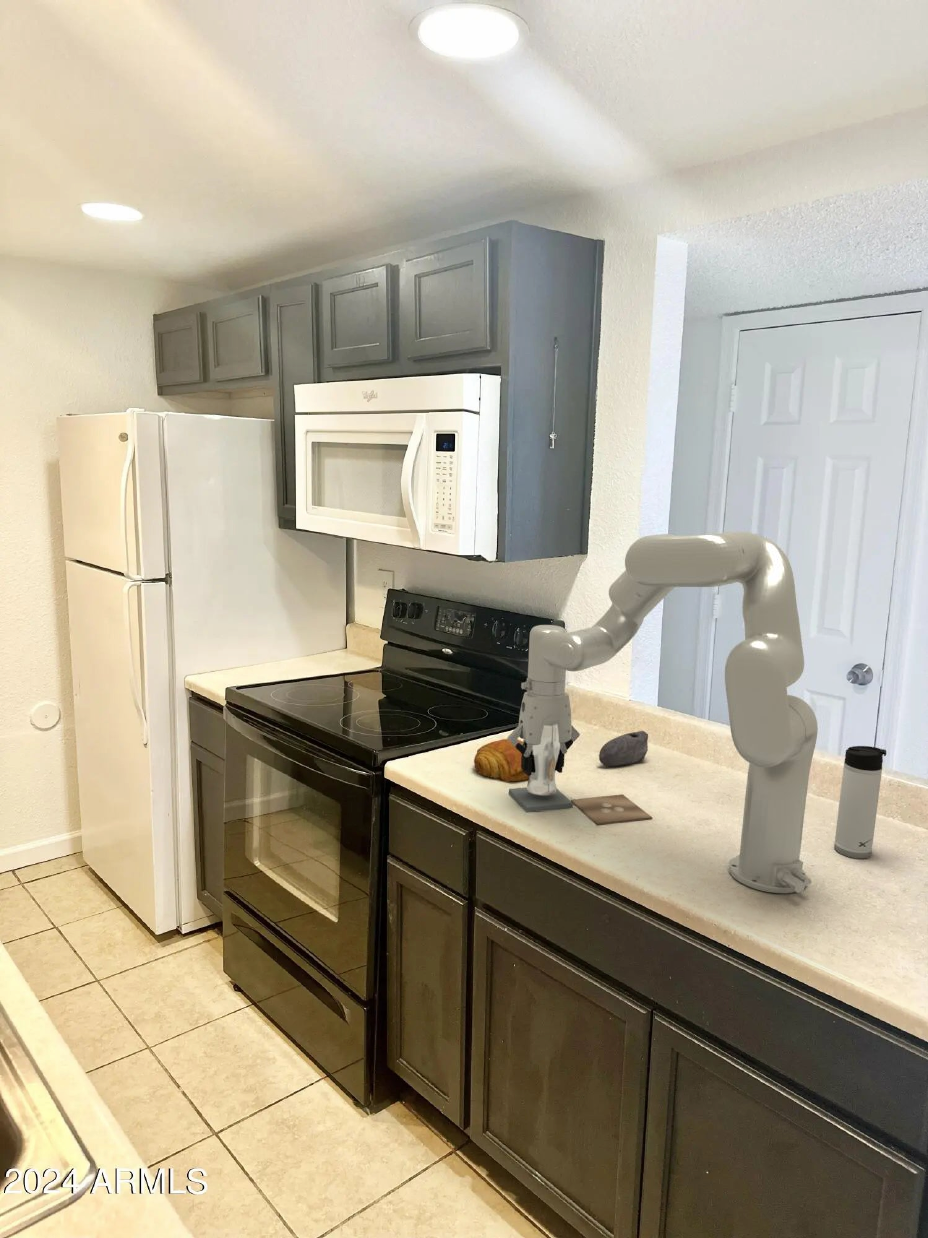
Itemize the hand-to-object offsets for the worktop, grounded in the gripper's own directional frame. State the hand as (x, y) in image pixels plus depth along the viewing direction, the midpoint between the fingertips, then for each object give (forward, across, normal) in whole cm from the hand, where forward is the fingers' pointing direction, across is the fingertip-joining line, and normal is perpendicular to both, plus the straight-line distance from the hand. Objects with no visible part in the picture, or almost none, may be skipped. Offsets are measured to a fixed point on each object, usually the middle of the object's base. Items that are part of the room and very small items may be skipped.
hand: (542, 771), depth 171 cm
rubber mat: (+6, 0, 0) cm, 6 cm away
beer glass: (+4, 0, 0) cm, 4 cm away
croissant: (+7, 0, +18) cm, 19 cm away
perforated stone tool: (+7, +28, +16) cm, 33 cm away
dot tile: (+6, +12, -8) cm, 16 cm away
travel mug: (+7, +47, -36) cm, 59 cm away
